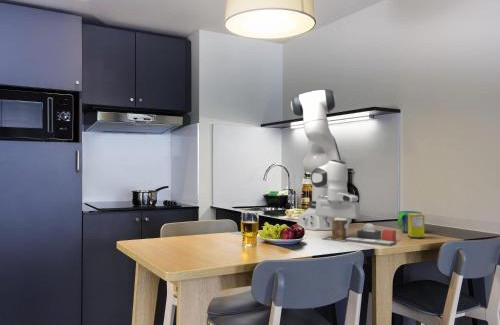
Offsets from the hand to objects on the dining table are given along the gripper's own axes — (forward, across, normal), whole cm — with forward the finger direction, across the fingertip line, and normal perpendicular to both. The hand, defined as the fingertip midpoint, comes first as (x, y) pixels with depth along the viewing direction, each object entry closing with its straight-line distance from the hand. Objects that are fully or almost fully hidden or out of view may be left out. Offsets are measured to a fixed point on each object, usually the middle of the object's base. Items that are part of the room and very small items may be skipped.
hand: (336, 227), depth 201 cm
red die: (+5, +19, +11) cm, 23 cm away
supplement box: (+5, +26, +28) cm, 38 cm away
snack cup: (+5, +18, +42) cm, 46 cm away
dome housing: (+5, +10, +11) cm, 16 cm away
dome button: (+4, +10, +11) cm, 16 cm away
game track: (+5, +15, +1) cm, 16 cm away
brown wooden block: (+5, +1, +1) cm, 5 cm away
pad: (+5, +1, +1) cm, 5 cm away
